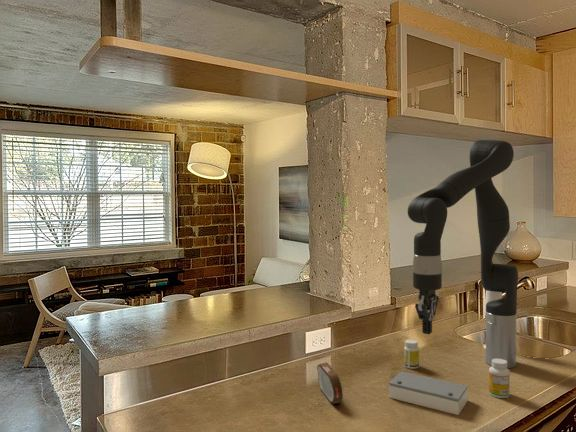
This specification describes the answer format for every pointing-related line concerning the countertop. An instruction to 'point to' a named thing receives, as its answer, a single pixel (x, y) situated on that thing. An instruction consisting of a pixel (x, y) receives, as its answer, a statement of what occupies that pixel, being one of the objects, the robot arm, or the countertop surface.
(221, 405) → the countertop surface
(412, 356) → the supplement bottle
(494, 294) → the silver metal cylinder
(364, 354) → the countertop surface
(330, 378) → the tin
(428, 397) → the white open tray
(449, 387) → the cover
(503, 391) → the supplement bottle
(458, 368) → the countertop surface
